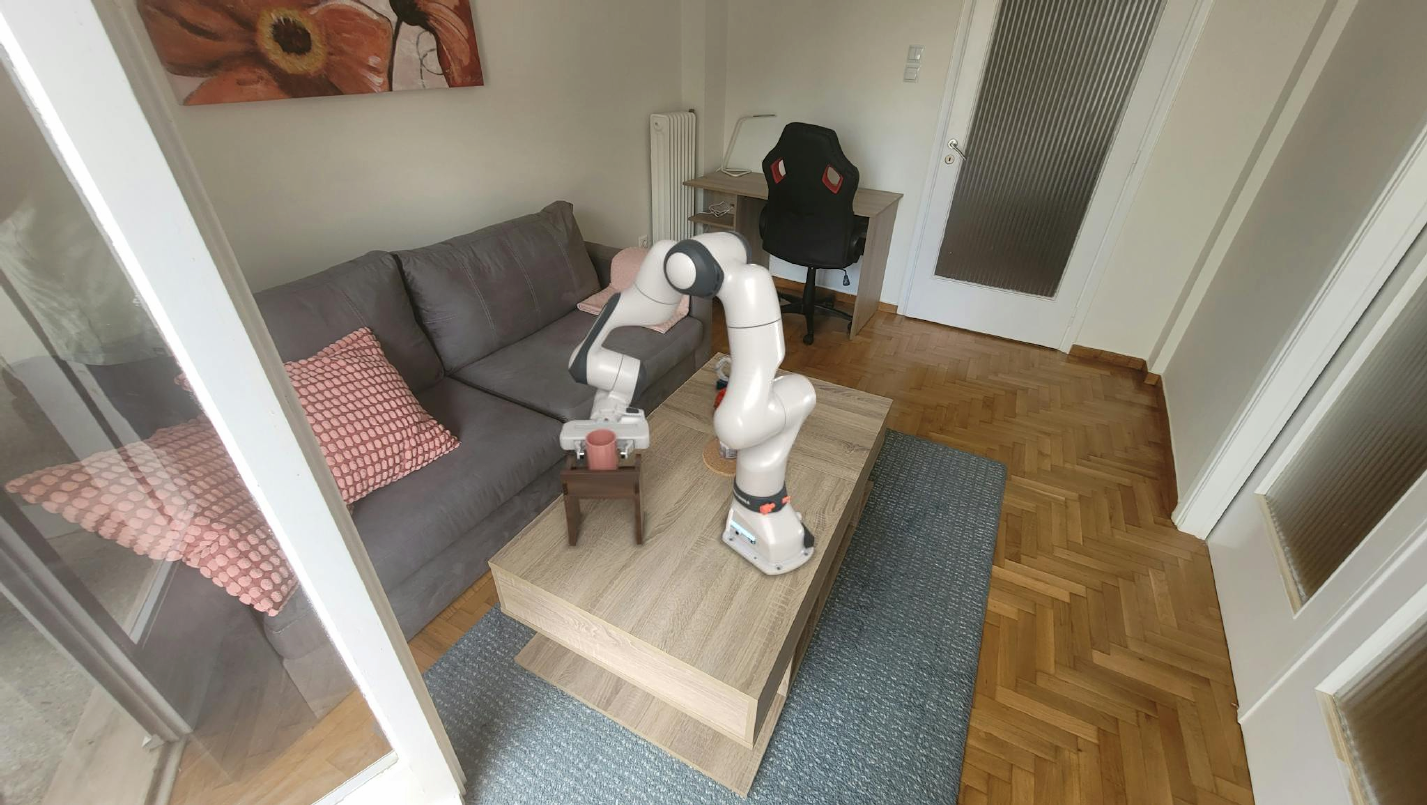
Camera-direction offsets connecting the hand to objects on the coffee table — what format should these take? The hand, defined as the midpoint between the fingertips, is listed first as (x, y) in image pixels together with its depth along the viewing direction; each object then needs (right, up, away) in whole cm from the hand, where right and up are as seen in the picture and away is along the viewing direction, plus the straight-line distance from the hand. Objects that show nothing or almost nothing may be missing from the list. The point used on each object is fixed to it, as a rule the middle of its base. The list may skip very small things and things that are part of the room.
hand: (602, 456), depth 128 cm
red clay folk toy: (+28, +8, +55) cm, 63 cm away
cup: (0, -5, +4) cm, 6 cm away
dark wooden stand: (-1, -18, +11) cm, 21 cm away
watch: (+29, +17, +69) cm, 76 cm away
